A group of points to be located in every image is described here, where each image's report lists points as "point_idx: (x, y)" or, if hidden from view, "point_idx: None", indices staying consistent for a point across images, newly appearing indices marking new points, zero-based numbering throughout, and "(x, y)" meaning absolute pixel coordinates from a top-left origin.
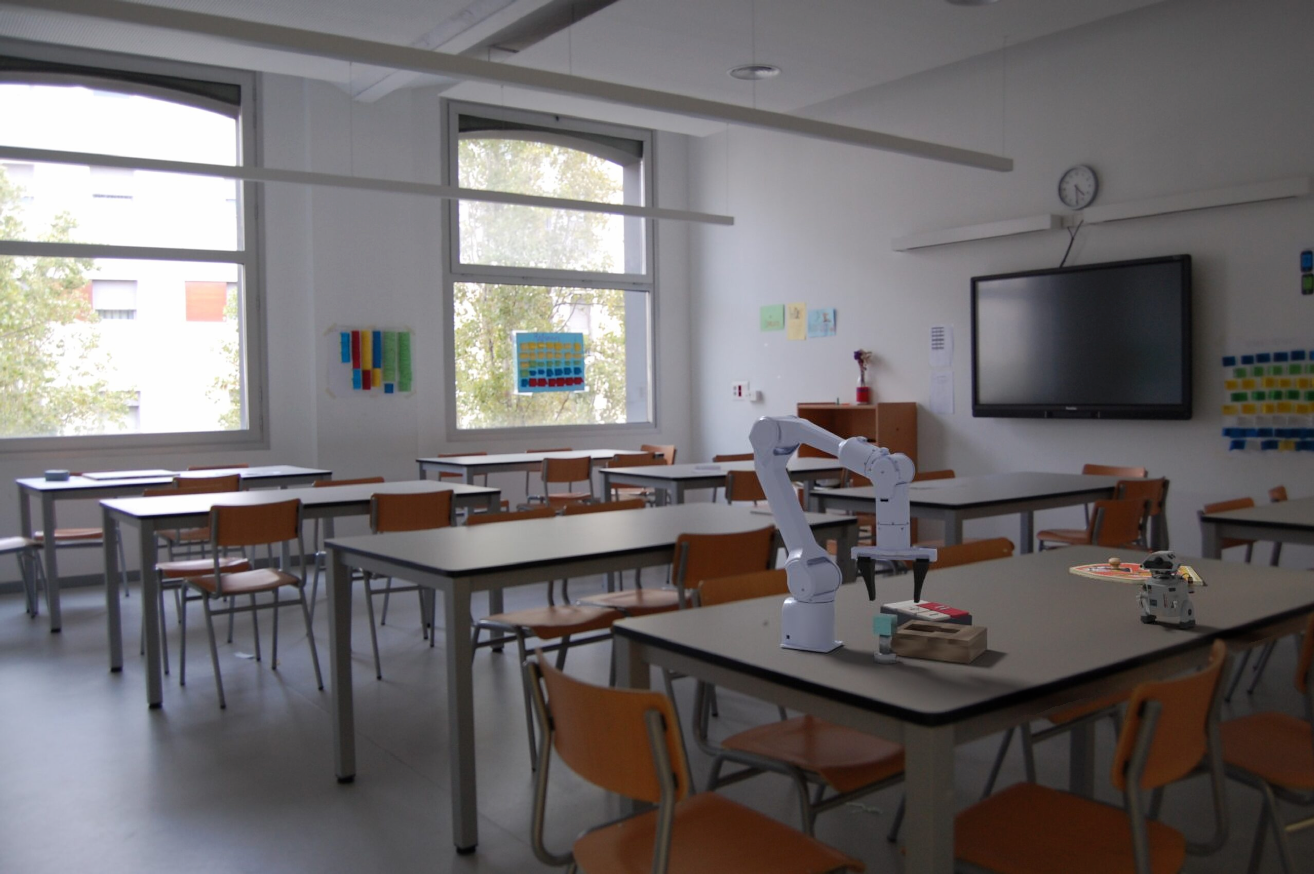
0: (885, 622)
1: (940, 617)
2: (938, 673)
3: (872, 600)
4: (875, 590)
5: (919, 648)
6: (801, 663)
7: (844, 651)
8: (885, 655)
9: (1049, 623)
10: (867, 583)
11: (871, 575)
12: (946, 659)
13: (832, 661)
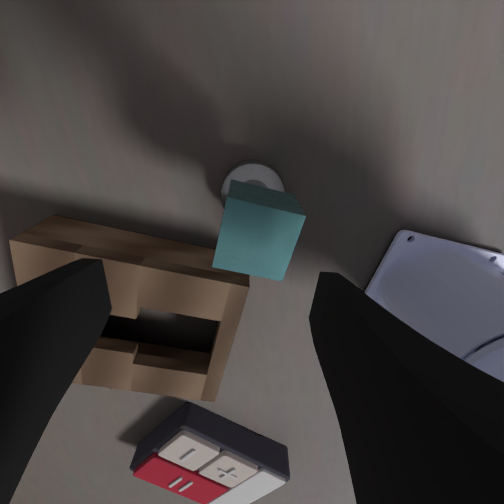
0: (251, 197)
1: (172, 443)
2: (89, 86)
3: (324, 273)
4: (318, 354)
5: (172, 251)
6: (484, 104)
7: (354, 258)
8: (250, 164)
9: (37, 479)
10: (398, 325)
11: (393, 397)
12: (108, 228)
13: (391, 152)
